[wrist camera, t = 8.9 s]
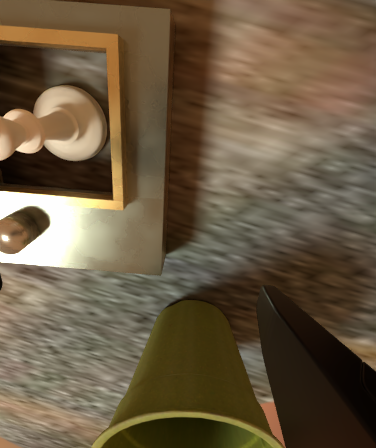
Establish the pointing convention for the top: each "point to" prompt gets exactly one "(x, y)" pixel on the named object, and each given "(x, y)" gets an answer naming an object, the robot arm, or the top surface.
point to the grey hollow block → (120, 142)
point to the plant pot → (189, 388)
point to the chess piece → (56, 125)
